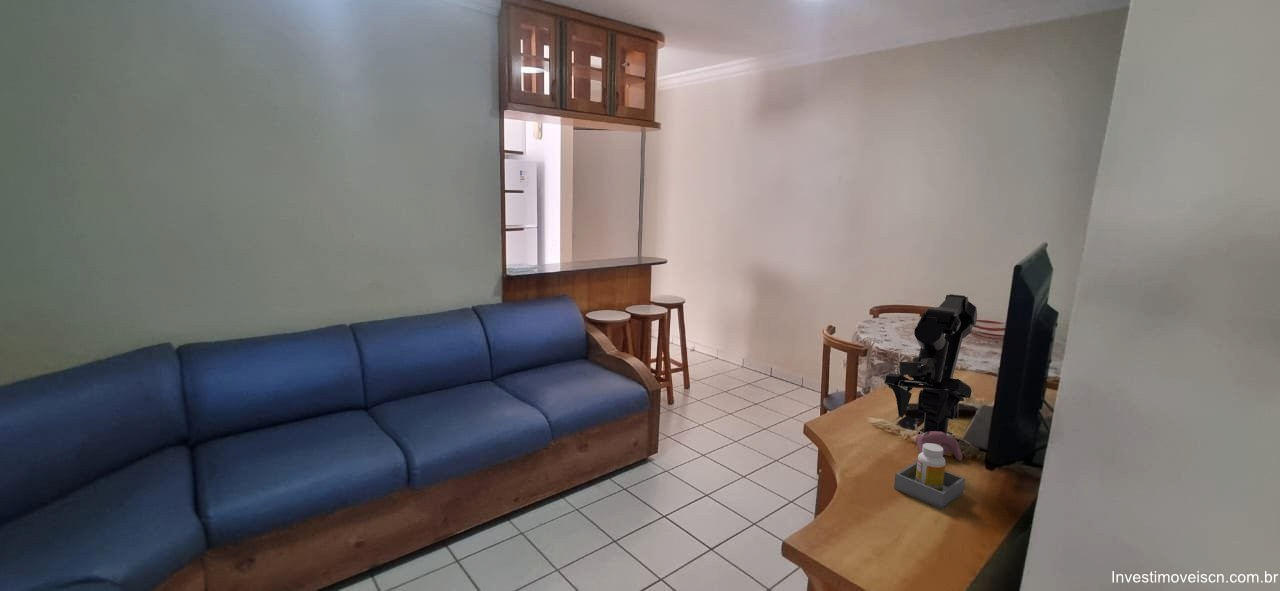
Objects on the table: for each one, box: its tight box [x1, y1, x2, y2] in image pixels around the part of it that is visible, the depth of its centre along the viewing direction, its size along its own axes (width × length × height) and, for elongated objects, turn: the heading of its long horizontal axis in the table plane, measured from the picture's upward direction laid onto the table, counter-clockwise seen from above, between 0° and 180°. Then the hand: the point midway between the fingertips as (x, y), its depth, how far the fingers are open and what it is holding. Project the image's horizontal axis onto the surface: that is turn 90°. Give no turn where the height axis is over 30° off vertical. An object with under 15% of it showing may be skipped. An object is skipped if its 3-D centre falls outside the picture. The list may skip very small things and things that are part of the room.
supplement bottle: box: [915, 443, 947, 492], centre depth 118 cm, size 5×5×10 cm
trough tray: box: [893, 460, 966, 510], centre depth 119 cm, size 10×10×4 cm
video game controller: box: [915, 431, 963, 462], centre depth 135 cm, size 10×5×7 cm, turn 85°
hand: (918, 419), depth 128 cm, fingers open, 9 cm apart
